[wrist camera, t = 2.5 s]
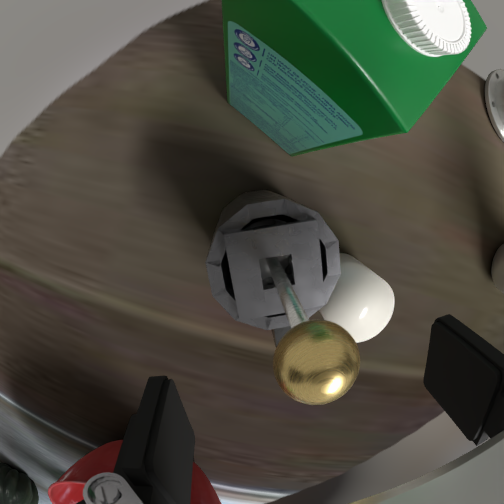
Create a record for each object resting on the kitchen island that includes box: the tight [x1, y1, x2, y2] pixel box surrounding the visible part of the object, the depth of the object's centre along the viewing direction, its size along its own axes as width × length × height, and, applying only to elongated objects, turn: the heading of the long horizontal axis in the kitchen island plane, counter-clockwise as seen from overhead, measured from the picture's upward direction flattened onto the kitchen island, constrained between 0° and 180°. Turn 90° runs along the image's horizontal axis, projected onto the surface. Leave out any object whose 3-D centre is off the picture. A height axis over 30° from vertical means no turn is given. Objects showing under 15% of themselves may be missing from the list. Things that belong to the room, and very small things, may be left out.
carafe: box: [206, 189, 341, 347], centre depth 27 cm, size 9×12×13 cm
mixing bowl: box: [48, 440, 221, 504], centre depth 35 cm, size 28×28×16 cm
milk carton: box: [222, 0, 487, 156], centre depth 18 cm, size 9×9×25 cm
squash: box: [0, 463, 39, 504], centre depth 39 cm, size 14×15×15 cm
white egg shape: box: [319, 253, 394, 343], centre depth 31 cm, size 7×7×8 cm
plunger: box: [245, 219, 360, 405], centre depth 17 cm, size 6×6×16 cm
